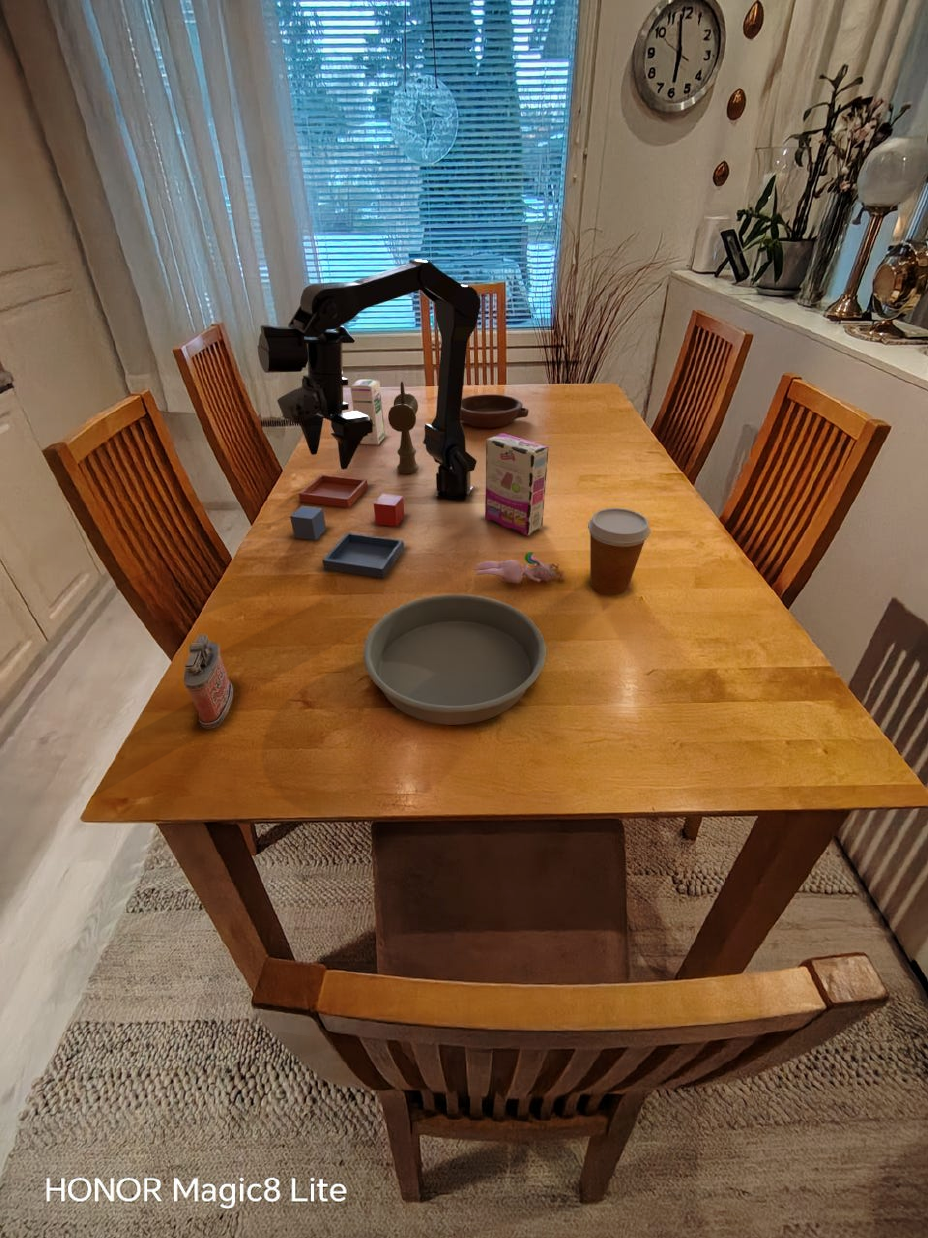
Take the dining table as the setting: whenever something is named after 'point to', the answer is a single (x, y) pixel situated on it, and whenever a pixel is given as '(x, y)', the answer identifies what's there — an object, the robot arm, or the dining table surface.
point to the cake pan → (454, 657)
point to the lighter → (208, 682)
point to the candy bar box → (515, 483)
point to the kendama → (404, 429)
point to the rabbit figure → (519, 570)
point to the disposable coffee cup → (615, 548)
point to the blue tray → (364, 555)
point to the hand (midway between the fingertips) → (328, 461)
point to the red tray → (333, 490)
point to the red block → (389, 510)
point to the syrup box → (369, 407)
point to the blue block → (308, 522)
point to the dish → (491, 410)
